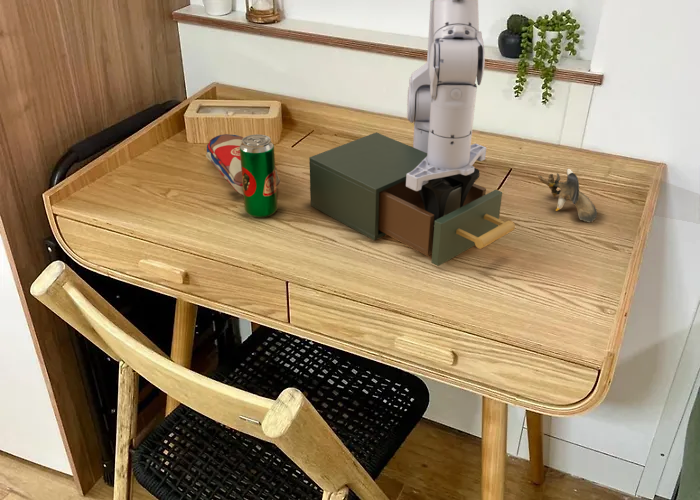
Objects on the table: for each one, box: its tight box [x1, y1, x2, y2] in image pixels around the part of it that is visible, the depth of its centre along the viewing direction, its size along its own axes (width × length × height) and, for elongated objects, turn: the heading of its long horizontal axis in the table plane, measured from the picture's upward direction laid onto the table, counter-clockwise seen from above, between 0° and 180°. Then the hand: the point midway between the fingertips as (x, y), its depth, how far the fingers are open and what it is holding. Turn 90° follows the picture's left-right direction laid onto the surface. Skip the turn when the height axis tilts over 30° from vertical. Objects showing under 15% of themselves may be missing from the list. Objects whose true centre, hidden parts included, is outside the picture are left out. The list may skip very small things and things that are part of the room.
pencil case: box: [205, 133, 281, 197], centre depth 120 cm, size 11×20×5 cm, turn 14°
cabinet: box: [308, 132, 427, 241], centre depth 110 cm, size 14×14×8 cm
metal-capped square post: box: [433, 176, 463, 227], centre depth 101 cm, size 4×4×6 cm
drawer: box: [378, 181, 516, 267], centre depth 101 cm, size 18×13×7 cm
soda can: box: [240, 133, 278, 219], centre depth 108 cm, size 5×5×12 cm
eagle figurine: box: [537, 168, 598, 223], centre depth 111 cm, size 8×7×9 cm
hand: (442, 218), depth 102 cm, fingers closed on metal-capped square post, 3 cm apart
